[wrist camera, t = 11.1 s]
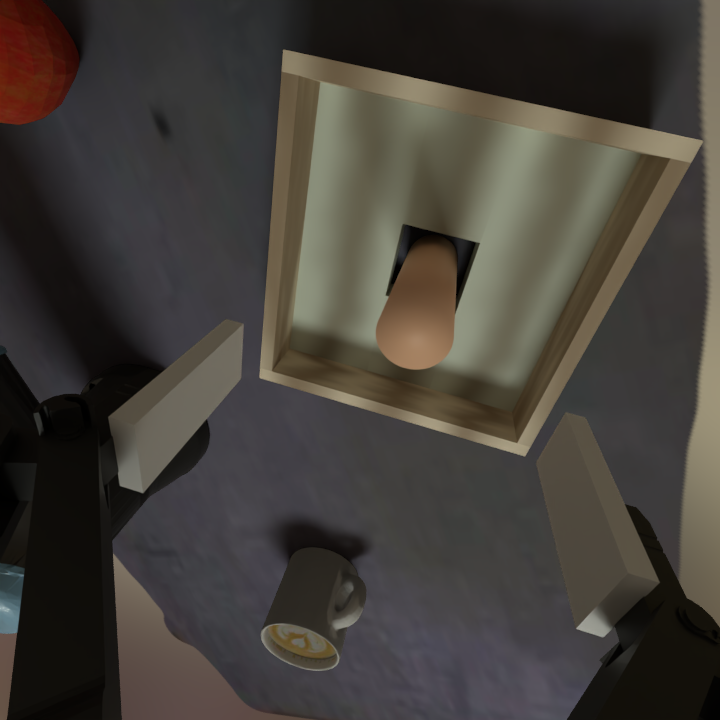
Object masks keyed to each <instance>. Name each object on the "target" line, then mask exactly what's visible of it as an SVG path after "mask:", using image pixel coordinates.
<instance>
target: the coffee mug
mask: <svg viewBox="0 0 720 720" xmlns="http://www.w3.org/2000/svg"><path fill="white" fill-rule="evenodd" d="M365 600H366V586H365V584H364V582H363V581H362V580H361V578H360V577H358V573H357V571H356V569H355V568H354V566H353V565H352V564H351V563H350V562H349V561H348V560H347V559H345V558H344V557H342V556H341V555H339V554H337V553H335V552H333V551H330V550H327V549H323V548H316V547H308V548H302V549H300V550H298V551H296V552H295V553H294V554H293V555H292V556H291V559H290V561H289V564H288V566H287V568H286V571H285V573H284V576H283V578H282V581H281V583H280V586H279V588H278V591H277V593H276V596H275V598H274V601H273V603H272V606H271V608H270V611H269V613H268V616H267V618H266V621H265V623H264V626H263V628H262V631H261V639H262V642H263V644H264V645H265V647H266V648H267V649H268V650H269V651H270V652H271V653H272V654H274V655H275V656H276V657H278V658H279V659H281V660H283V661H285V662H287V663H289V664H291V665H294V666H297V667H300V668H303V669H308V670H315V671H322V670H329V669H332V668H334V667H335V666H336V665H337V664H338V663H339V660H340V657H341V652H342V648H343V644H344V639H345V635H346V631H347V627H348V626H350V625H352V624H353V623H354V622H356V621H357V620H358V618H359V617H360V615H361V613H362V610H363V608H364V604H365Z"/></svg>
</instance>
